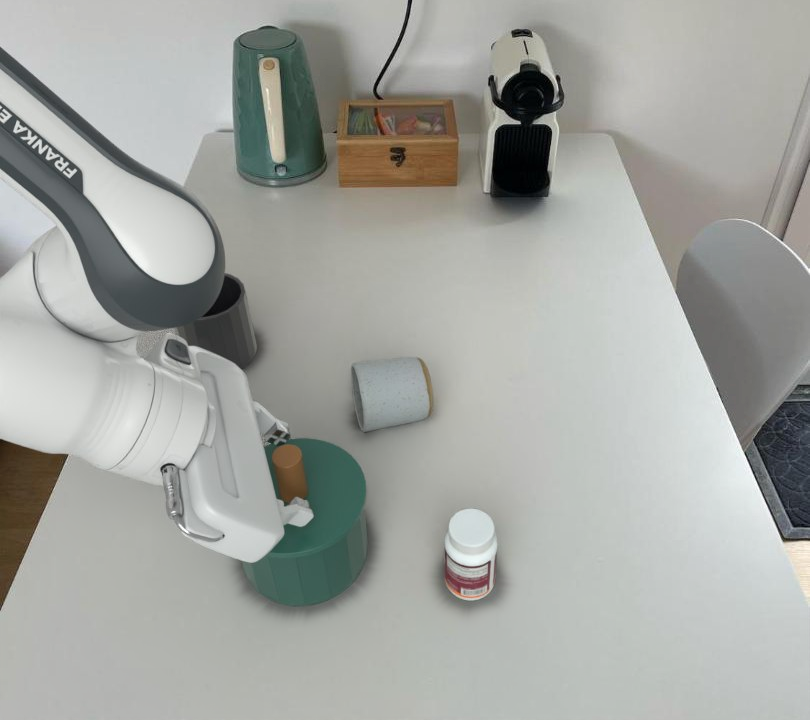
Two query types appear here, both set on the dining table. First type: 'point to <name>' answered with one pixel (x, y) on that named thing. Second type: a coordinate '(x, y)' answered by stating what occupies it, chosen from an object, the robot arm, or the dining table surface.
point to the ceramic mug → (391, 392)
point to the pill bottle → (470, 554)
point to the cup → (225, 326)
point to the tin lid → (316, 493)
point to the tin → (311, 571)
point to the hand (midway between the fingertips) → (296, 473)
